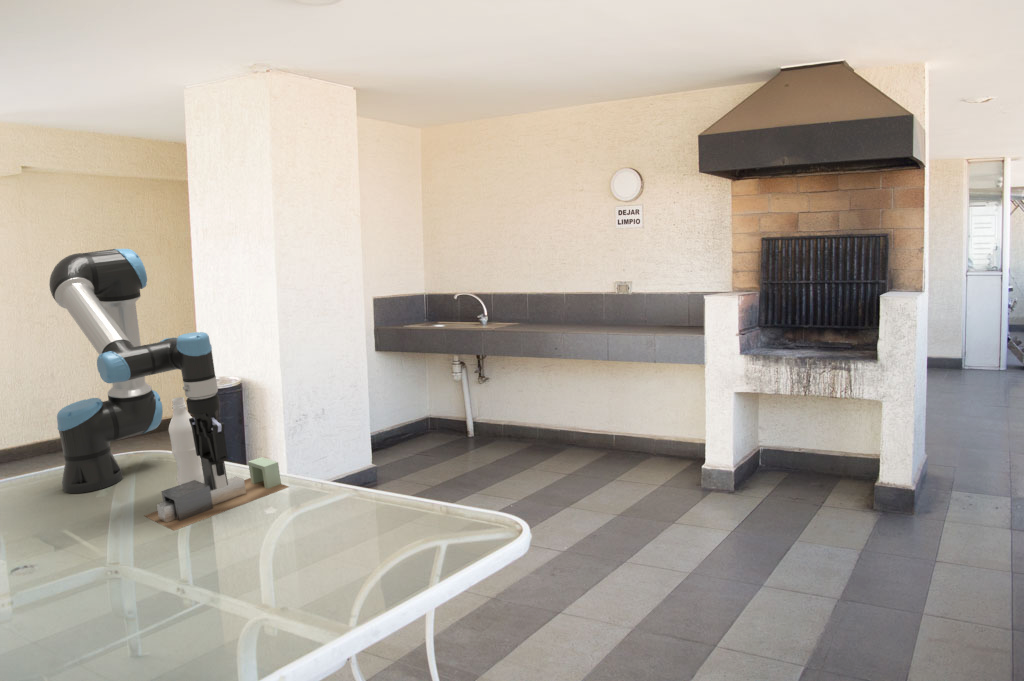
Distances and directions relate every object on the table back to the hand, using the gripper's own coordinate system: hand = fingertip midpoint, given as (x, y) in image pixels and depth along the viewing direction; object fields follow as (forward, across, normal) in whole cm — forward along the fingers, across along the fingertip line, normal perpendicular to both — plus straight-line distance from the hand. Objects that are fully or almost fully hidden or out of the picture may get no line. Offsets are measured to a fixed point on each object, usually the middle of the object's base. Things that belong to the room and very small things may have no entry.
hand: (216, 485), depth 202 cm
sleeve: (+5, 0, -8) cm, 9 cm away
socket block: (+5, 0, +13) cm, 14 cm away
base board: (+5, 0, 0) cm, 5 cm away
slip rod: (+4, 0, -4) cm, 6 cm away
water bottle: (+5, -18, +2) cm, 19 cm away
